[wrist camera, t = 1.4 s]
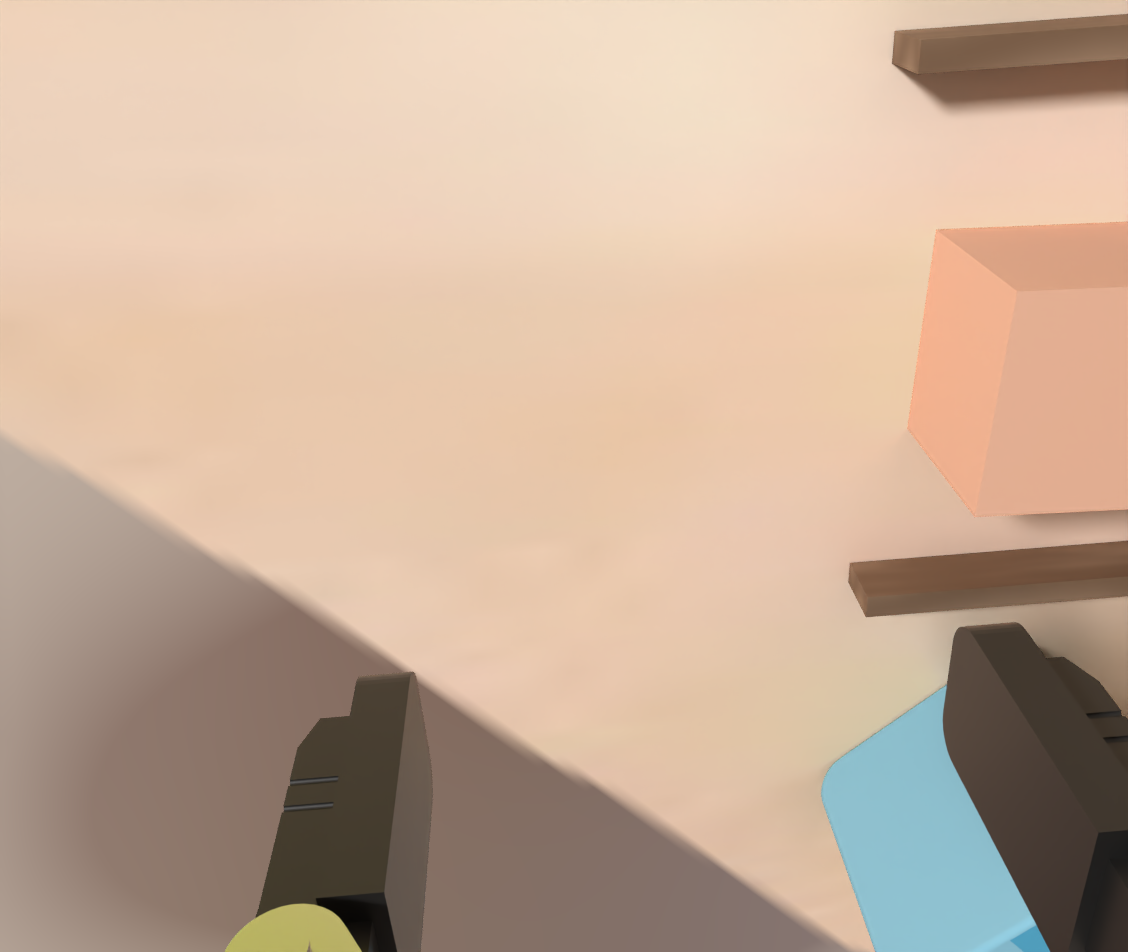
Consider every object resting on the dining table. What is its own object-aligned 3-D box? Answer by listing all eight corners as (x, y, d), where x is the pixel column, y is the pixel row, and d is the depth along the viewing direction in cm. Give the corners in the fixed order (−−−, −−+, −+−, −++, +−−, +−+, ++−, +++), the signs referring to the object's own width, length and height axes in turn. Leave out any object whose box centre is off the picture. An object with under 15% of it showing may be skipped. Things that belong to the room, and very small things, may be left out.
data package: (866, 820, 52) (957, 1051, 42) (811, 774, 51) (891, 1004, 40) (1073, 683, 49) (1230, 899, 38) (1021, 629, 47) (1170, 839, 36)
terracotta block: (934, 228, 38) (1017, 291, 32) (1258, 215, 38) (1402, 274, 32) (905, 426, 42) (974, 517, 36) (1200, 412, 42) (1318, 499, 36)
